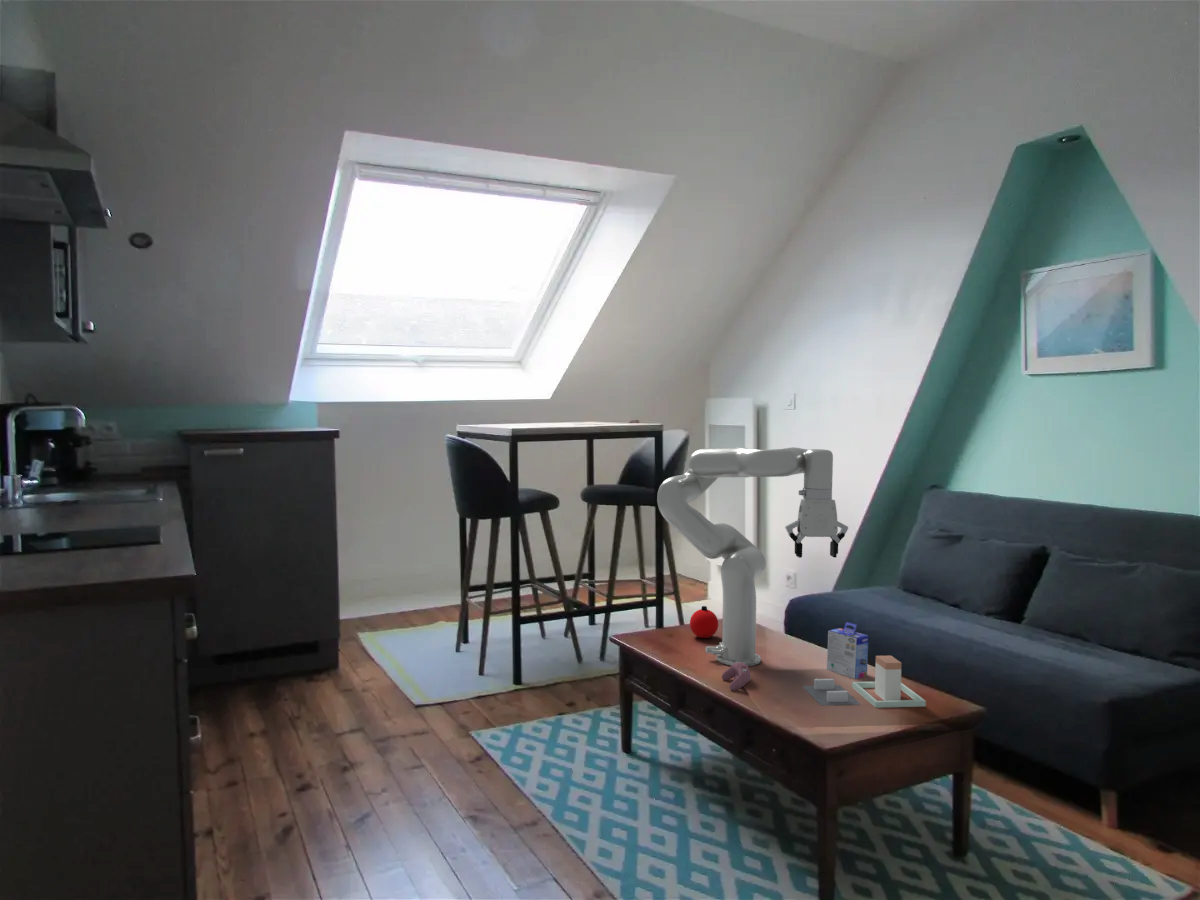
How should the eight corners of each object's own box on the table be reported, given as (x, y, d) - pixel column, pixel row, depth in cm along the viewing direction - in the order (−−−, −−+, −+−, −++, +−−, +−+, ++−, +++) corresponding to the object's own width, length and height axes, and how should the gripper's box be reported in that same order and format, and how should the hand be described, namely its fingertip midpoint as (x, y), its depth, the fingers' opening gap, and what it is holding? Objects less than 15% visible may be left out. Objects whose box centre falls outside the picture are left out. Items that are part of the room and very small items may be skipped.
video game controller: (744, 697, 217) (756, 673, 217) (728, 689, 217) (741, 665, 216) (734, 684, 227) (746, 661, 227) (719, 677, 226) (731, 654, 226)
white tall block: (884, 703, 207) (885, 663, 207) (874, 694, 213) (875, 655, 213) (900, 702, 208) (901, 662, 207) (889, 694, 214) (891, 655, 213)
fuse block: (820, 710, 204) (821, 695, 204) (801, 690, 218) (802, 676, 218) (860, 709, 205) (861, 694, 205) (839, 689, 219) (839, 675, 219)
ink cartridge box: (868, 679, 227) (870, 626, 226) (855, 683, 224) (856, 629, 223) (838, 670, 235) (840, 618, 234) (825, 673, 232) (827, 621, 231)
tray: (875, 712, 203) (875, 702, 203) (851, 691, 217) (852, 682, 217) (925, 711, 204) (925, 700, 204) (898, 690, 218) (899, 680, 218)
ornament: (724, 637, 266) (724, 606, 265) (705, 643, 260) (706, 611, 259) (702, 632, 273) (702, 601, 272) (683, 637, 266) (684, 606, 266)
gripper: (791, 496, 225) (789, 559, 226) (853, 496, 227) (852, 559, 228) (782, 493, 233) (781, 554, 234) (843, 493, 234) (841, 554, 235)
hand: (816, 556), depth 231 cm, fingers open, 9 cm apart
